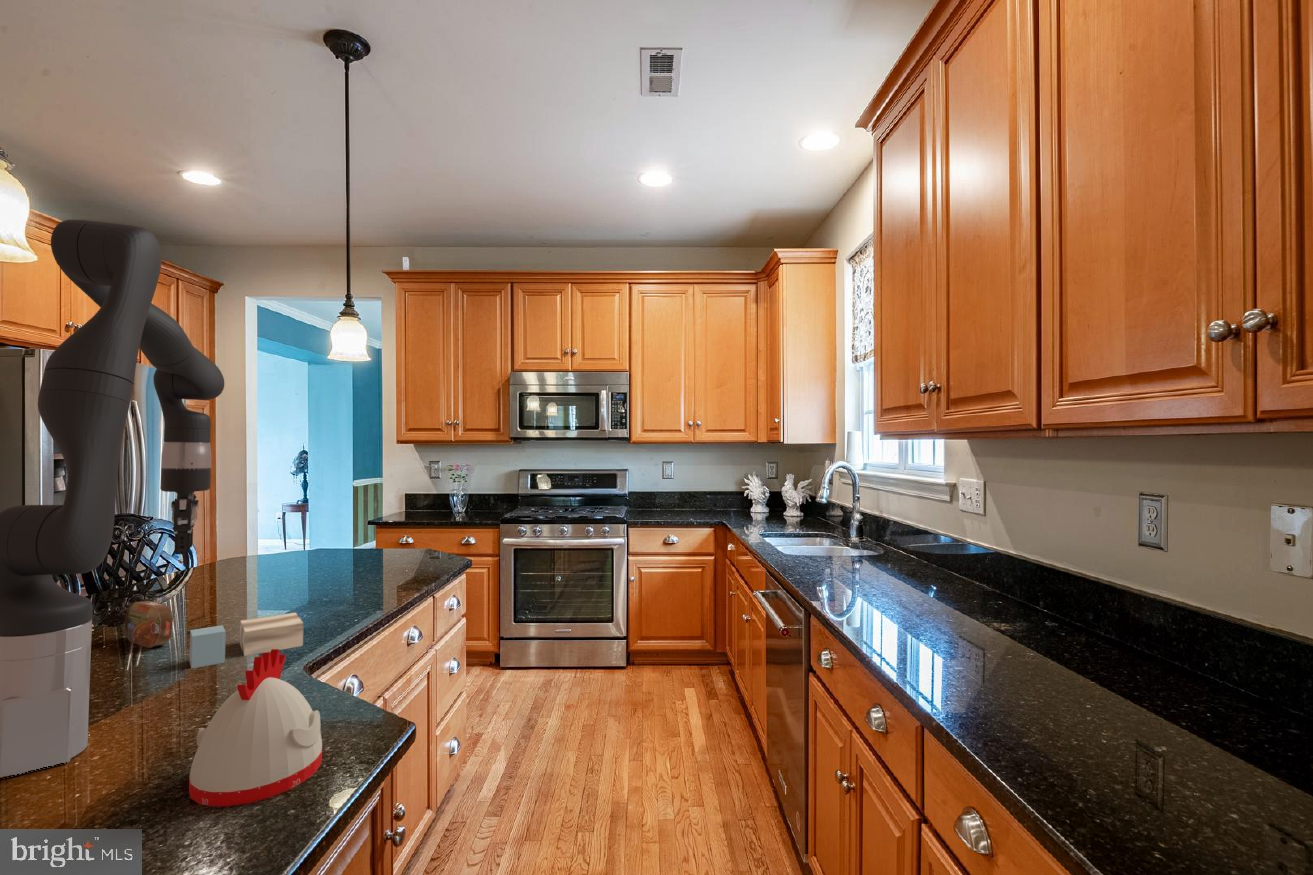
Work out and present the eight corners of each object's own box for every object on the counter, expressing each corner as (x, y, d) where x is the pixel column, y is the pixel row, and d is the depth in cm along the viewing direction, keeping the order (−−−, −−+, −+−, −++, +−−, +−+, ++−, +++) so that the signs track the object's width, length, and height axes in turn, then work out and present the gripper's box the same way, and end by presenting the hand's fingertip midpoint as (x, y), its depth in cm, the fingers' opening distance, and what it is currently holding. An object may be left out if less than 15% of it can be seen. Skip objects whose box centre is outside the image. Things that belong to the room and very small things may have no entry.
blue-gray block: (224, 662, 111) (225, 631, 112) (191, 668, 108) (192, 636, 108) (221, 655, 115) (222, 625, 115) (189, 661, 112) (190, 630, 112)
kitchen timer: (342, 745, 81) (344, 637, 81) (281, 806, 67) (285, 675, 68) (239, 746, 80) (243, 637, 81) (158, 807, 67) (162, 675, 67)
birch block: (302, 647, 121) (303, 623, 121) (244, 657, 115) (245, 631, 115) (294, 635, 129) (295, 612, 129) (239, 644, 123) (240, 620, 123)
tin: (122, 639, 124) (123, 599, 124) (141, 635, 127) (142, 596, 127) (156, 651, 117) (158, 609, 117) (175, 647, 120) (176, 606, 120)
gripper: (209, 467, 108) (207, 554, 108) (212, 465, 120) (209, 544, 119) (157, 467, 104) (153, 558, 103) (164, 465, 115) (161, 547, 115)
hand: (183, 550), depth 111 cm, fingers open, 8 cm apart
